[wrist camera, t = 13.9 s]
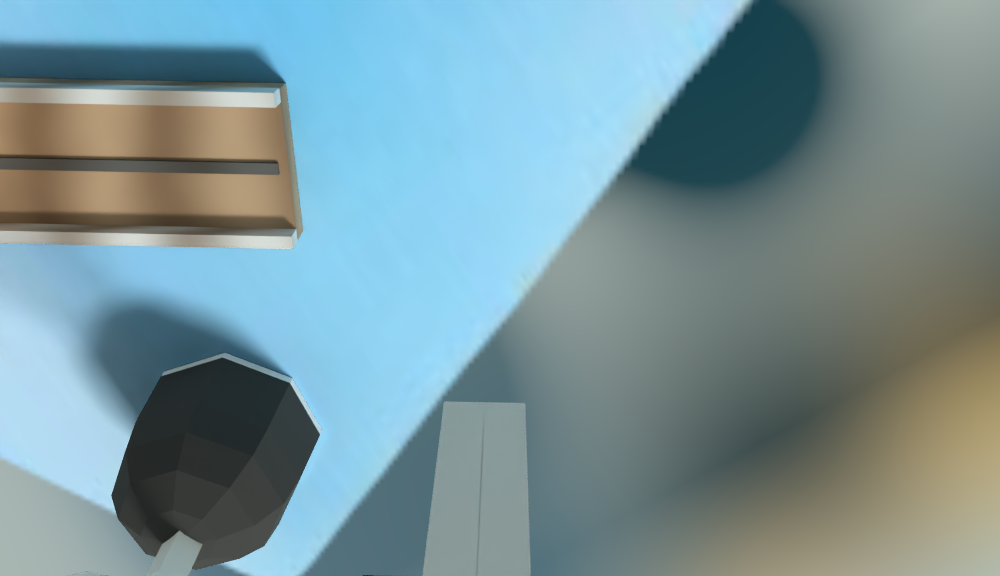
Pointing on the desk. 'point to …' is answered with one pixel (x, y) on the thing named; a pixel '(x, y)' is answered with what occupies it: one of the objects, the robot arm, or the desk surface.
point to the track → (147, 163)
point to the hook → (212, 463)
